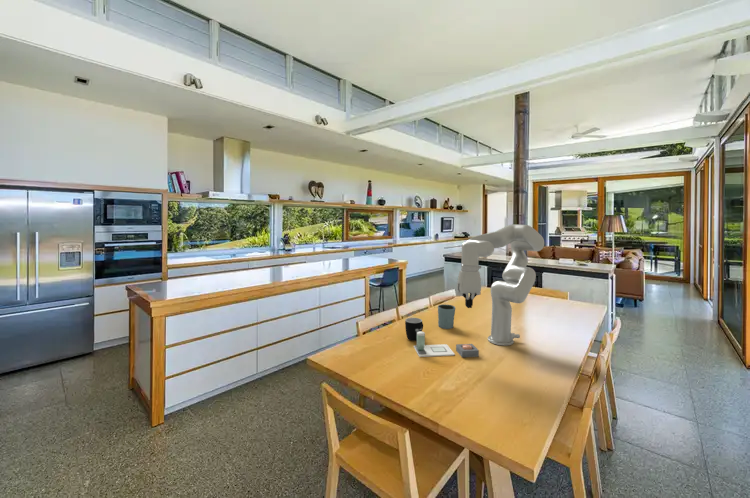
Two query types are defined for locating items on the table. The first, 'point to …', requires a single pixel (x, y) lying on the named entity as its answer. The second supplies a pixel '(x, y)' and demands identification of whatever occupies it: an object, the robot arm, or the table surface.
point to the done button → (467, 347)
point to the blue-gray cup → (446, 316)
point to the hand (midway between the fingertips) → (468, 307)
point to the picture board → (435, 350)
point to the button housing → (467, 351)
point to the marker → (420, 340)
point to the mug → (413, 328)
